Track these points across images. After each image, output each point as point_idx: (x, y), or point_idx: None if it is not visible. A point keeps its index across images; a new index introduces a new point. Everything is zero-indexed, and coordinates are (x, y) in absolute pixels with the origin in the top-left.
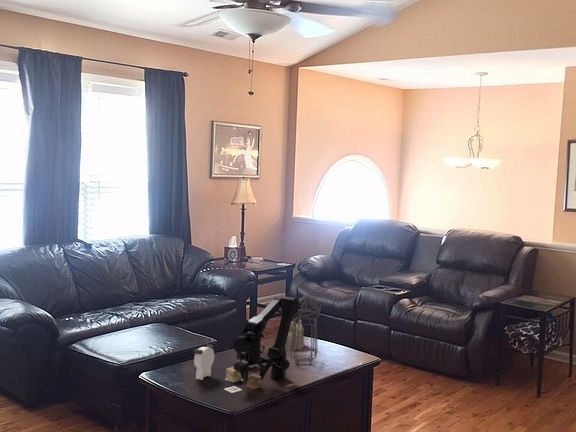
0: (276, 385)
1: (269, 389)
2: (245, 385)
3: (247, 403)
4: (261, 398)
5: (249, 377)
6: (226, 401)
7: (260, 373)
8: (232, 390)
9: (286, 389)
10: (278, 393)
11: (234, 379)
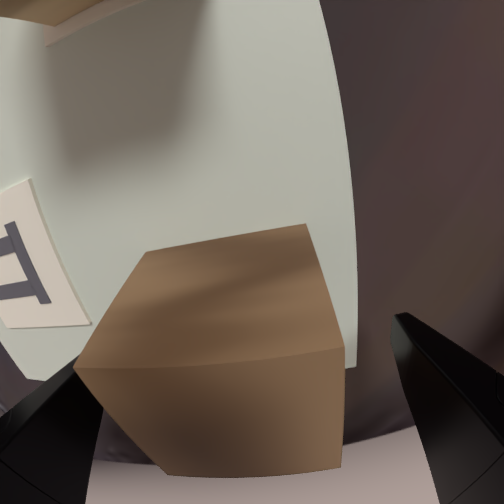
0: (490, 307)
1: (378, 367)
2: (139, 265)
3: (106, 445)
4: None
5: (134, 438)
6: (3, 376)
7: (442, 397)
8: (7, 294)
9: None
10: (367, 431)
11: (63, 6)
